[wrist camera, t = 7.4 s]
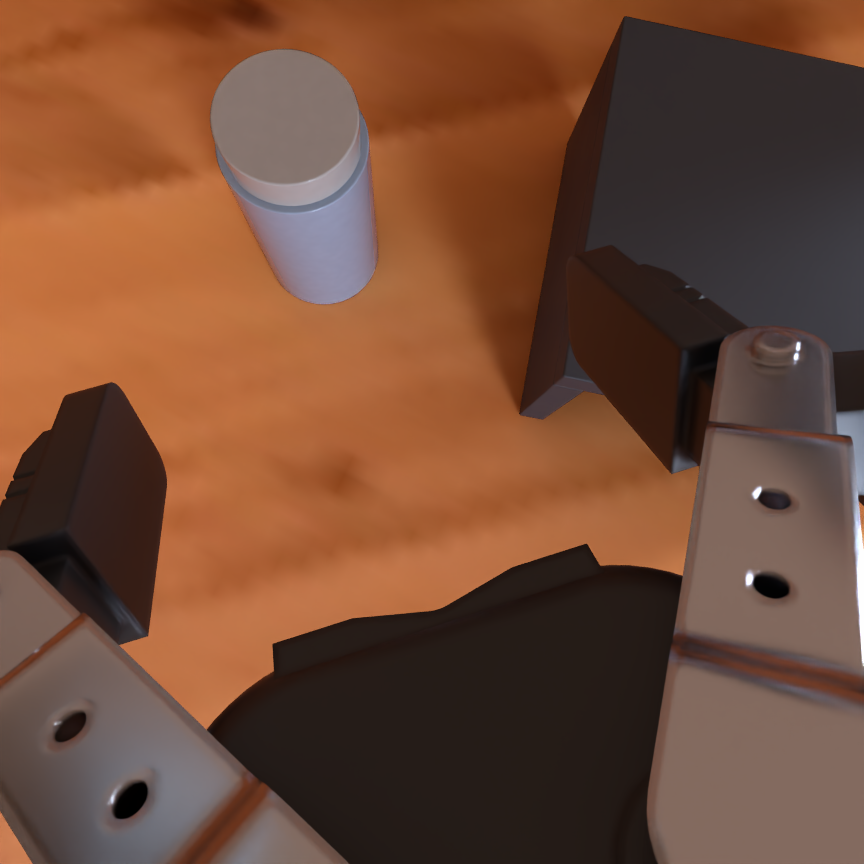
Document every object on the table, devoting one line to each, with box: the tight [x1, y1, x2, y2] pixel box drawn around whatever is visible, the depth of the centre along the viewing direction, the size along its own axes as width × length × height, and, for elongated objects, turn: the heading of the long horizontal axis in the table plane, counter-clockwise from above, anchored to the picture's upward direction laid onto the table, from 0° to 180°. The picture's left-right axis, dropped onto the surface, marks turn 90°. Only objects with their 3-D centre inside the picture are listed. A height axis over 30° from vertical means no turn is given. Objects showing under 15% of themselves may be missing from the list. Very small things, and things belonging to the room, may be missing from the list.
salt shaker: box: [210, 49, 378, 304], centre depth 22 cm, size 4×4×9 cm
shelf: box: [519, 16, 864, 419], centre depth 23 cm, size 12×14×7 cm
